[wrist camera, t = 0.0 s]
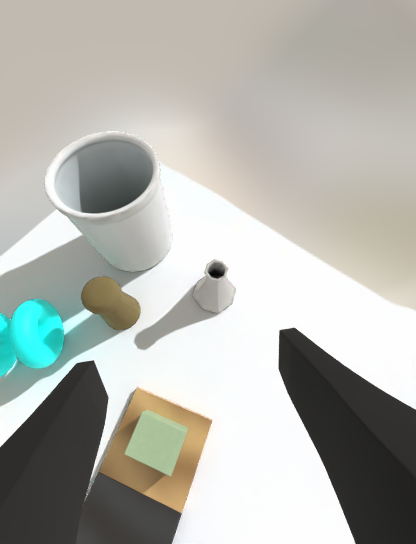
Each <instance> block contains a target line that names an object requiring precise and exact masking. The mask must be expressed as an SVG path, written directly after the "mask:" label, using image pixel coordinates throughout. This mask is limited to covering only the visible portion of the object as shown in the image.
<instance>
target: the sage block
mask: <svg viewBox="0 0 416 544" xmlns="http://www.w3.org/2000/svg"><path fill="white" fill-rule="evenodd" d="M187 431H188V427H186V426H184V425H181V424H179V423H177V422H175V421H173V420H170V419H168V418H166V417H164V416H161V415H159V414H157V413H155V412H153V411H150V410H146V411H143V412H142V414H141V416H140V418H139V421H138V423H137V425H136V428H135V430H134V432H133V435H132V437H131V439H130V442H129V444H128V446H127V449H126V451H125V453H124V454H125V455H127V456H129V457H131V458H133V459H135V460H137V461H139V462H141V463H144V464H146V465H148V466H150V467H152V468H154V469H156V470H158V471H160V472H162V473H164V474H166V475H168V476H171V475H172V473H173V470H174V467H175V465H176V462H177V459H178V456H179V453H180V451H181V448H182V445H183V442H184V439H185V437H186V434H187Z"/></svg>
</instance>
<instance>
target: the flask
mask: <svg viewBox="0 0 416 544" xmlns="http://www.w3.org/2000/svg"><path fill="white" fill-rule="evenodd" d="M227 271H228V267H227V266H226V265H225V264H224V263H223V262H222V261H218V260H213V261H211V262H210V263H208V264H207V266H206V269H205V272H204V273H205V274H206V276H204V277H203V278H202V279H200V280H199V281H198V282H197V285H196V288H195V291H194V294H193V297H194V298H195V300H196V301H197V302H198V304H199V305H200V306H201V308H202V309H204V310H208V311H211V312H215V313H218V314H219V313H220V312H222V311H223V310H224V309H226V308H227V307H228V306H230V305H231V304H232V302H233V298H234V294H235V291H236V288H235V287H234V286H233V284H232V283H231V282H230V281H229V280H228V278H227V277H226V275H227Z"/></svg>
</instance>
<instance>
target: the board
mask: <svg viewBox="0 0 416 544" xmlns="http://www.w3.org/2000/svg"><path fill="white" fill-rule="evenodd" d="M146 410H150V411H153V412H155V413H157V414H159V415H161V416H164V417H166V418H168V419H170V420H173V421H175V422H177V423H179V424H181V425H184V426H186V427H188V431H187V434H186V437H185V439H184V442H183V445H182V448H181V451H180V453H179V456H178V459H177V462H176V465H175V467H174V470H173V473H172V475H171V476H168V475H166V474H164V473H162V472H160V471H158V470H156V469H154V468H152V467H150V466H148V465H146V464H144V463H141V462H139V461H137V460H135V459H133V458H131V457H129V456H127V455H125V454H124V453H125V451H126V449H127V446H128V444H129V442H130V439H131V437H132V435H133V432H134V430H135V428H136V425H137V423H138V421H139V418H140V416H141V414H142V412H143V411H146ZM211 423H212V419H209V418H207V417H205V416H203V415H200V414H198V413H196V412H193V411H191V410H189V409H187V408H184V407H182V406H180V405H177V404H175V403H173V402H171V401H168V400H166V399H164V398H162V397H159V396H157V395H155V394H152V393H150V392H148V391H146V390H143V389H141V388H136V391H135V393H134V395H133V397H132V399H131V402H130V404H129V406H128V408H127V411H126V413H125V415H124V417H123V419H122V422H121V424H120V426H119V428H118V431H117V433H116V435H115V437H114V439H113V442H112V444H111V446H110V448H109V450H108V453H107V455H106V457H105V459H104V462H103V464H102V466H101V468H100V470H99V473H98V475H97V477H96V479H95V481H94V484H93V486H92V488H91V490H90V493H89V495H88V497H87V499H86V501H85V504H84V506H83V509H82V513H81V518H80V523H79V529H78V534H77V540H76V544H172V541H173V538H174V535H175V532H176V529H177V526H178V523H179V520H180V517H181V514H182V511H183V508H184V505H185V502H186V499H187V496H188V493H189V490H190V487H191V484H192V481H193V478H194V475H195V472H196V469H197V465H198V462H199V459H200V456H201V453H202V450H203V447H204V444H205V441H206V438H207V435H208V432H209V429H210V426H211Z"/></svg>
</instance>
